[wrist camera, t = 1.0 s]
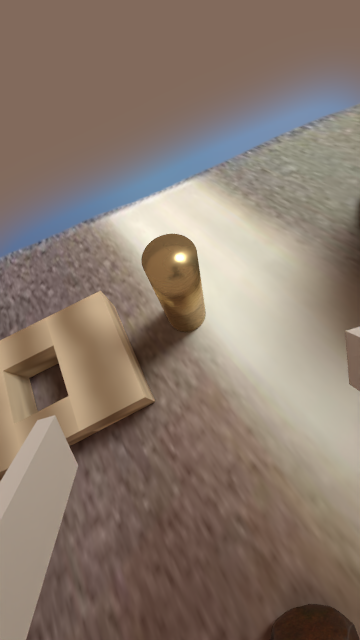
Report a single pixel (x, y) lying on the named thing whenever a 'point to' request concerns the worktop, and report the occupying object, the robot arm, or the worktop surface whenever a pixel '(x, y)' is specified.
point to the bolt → (313, 624)
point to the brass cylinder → (176, 280)
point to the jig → (70, 374)
